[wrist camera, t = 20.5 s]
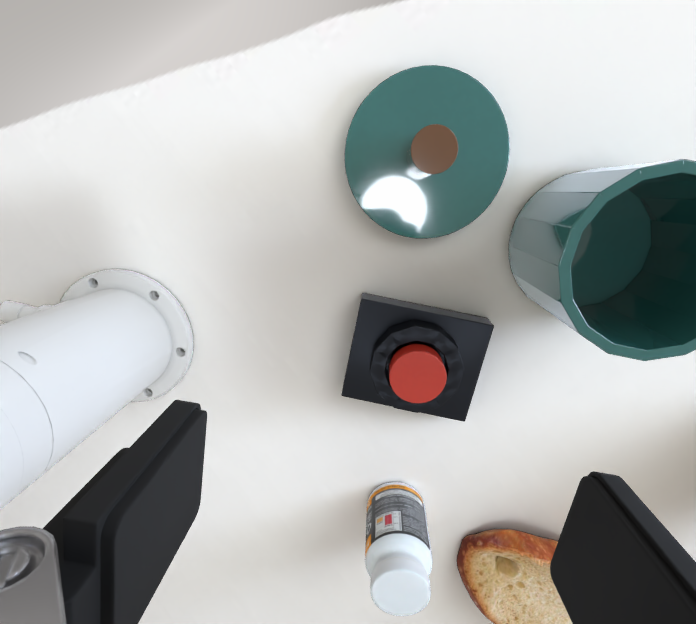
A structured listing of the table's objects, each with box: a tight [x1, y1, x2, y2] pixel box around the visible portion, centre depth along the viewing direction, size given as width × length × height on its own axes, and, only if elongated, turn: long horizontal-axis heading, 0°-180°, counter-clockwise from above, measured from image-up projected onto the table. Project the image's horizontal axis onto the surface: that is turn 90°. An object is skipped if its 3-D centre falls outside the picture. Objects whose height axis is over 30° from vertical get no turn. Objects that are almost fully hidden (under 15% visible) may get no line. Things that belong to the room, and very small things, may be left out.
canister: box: [509, 159, 696, 361], centre depth 29 cm, size 11×11×10 cm
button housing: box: [342, 293, 494, 421], centre depth 36 cm, size 11×9×4 cm
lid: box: [345, 65, 510, 238], centre depth 30 cm, size 12×12×7 cm
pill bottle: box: [365, 482, 433, 616], centre depth 38 cm, size 6×6×10 cm
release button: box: [389, 344, 447, 403], centre depth 34 cm, size 4×4×2 cm
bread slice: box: [457, 529, 573, 624], centre depth 42 cm, size 18×18×4 cm
